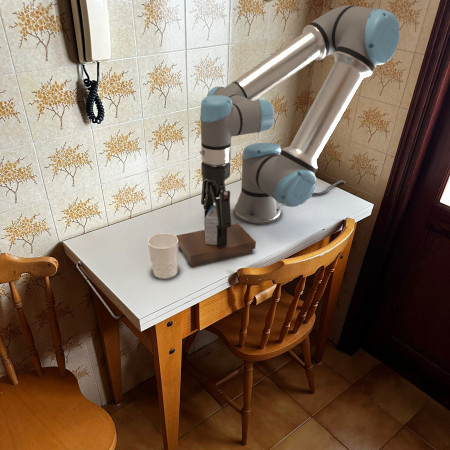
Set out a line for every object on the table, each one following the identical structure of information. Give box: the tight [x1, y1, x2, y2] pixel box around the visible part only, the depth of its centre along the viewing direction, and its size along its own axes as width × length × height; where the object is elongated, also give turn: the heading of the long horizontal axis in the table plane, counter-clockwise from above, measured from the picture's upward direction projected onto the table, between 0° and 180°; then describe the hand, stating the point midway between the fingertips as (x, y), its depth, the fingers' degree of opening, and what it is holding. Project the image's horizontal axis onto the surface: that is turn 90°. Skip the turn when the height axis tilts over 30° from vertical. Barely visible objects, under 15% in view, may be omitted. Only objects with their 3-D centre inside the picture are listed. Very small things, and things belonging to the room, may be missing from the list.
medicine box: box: [204, 204, 219, 245], centre depth 126 cm, size 8×4×9 cm, turn 169°
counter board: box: [175, 222, 257, 267], centre depth 130 cm, size 20×12×4 cm, turn 114°
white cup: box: [147, 232, 179, 280], centre depth 119 cm, size 8×8×10 cm
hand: (215, 237), depth 128 cm, fingers closed on medicine box, 9 cm apart
